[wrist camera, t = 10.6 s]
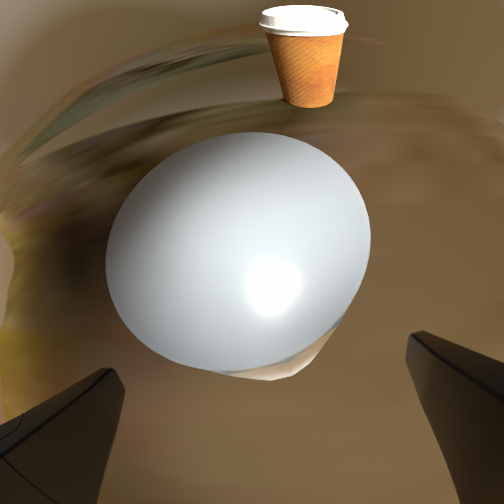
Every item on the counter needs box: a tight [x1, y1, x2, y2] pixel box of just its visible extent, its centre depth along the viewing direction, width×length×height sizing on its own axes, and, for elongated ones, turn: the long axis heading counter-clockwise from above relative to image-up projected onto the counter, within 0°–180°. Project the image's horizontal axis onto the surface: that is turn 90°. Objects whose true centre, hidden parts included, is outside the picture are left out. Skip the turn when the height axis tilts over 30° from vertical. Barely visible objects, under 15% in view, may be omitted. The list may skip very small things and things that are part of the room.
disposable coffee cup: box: [259, 5, 348, 108], centre depth 24 cm, size 10×10×12 cm
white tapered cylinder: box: [106, 132, 370, 381], centre depth 12 cm, size 7×7×12 cm
